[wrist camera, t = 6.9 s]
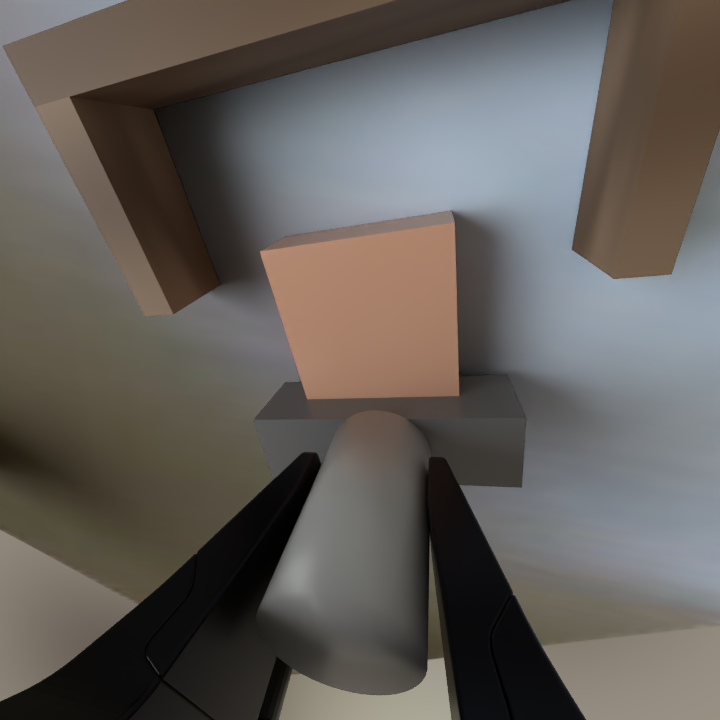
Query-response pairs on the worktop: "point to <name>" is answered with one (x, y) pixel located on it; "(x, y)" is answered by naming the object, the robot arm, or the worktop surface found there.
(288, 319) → the tile
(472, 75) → the worktop surface
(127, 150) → the open frame
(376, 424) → the pusher
